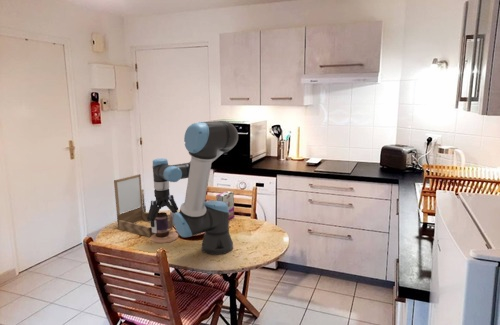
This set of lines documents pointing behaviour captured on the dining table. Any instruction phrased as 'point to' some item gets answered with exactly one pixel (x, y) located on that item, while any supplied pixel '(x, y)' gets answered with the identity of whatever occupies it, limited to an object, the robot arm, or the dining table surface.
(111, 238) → the dining table surface
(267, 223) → the dining table surface
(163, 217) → the mug
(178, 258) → the dining table surface
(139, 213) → the cold frame
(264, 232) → the dining table surface
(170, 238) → the saucer
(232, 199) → the candy bar box
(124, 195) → the lid
